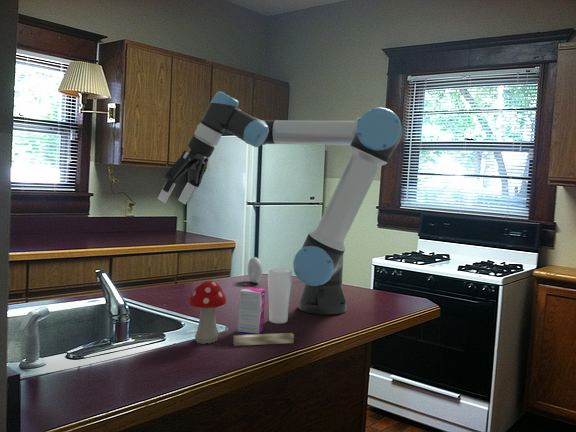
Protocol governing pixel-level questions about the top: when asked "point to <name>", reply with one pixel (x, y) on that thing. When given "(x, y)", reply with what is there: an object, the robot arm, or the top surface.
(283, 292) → the drinking glass
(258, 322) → the supplement box
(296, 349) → the top surface
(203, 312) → the decorative mushroom
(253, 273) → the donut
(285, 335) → the bar
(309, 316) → the top surface
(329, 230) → the robot arm
